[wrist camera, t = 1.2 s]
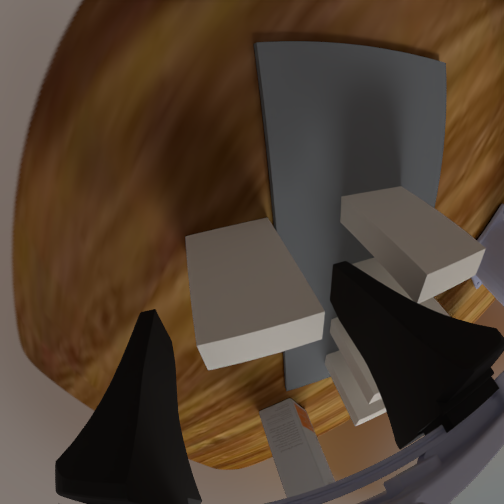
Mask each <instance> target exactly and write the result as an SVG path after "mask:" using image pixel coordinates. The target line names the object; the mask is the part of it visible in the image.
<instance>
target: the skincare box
mask: <svg viewBox="0 0 504 504" xmlns="http://www.w3.org/2000/svg"><path fill="white" fill-rule="evenodd" d="M259 414H260V418H261V421H262V424H263V427H264V430H265V433H266V436H267V440H268V443H269V446H270V449H271V452H272V455H273V458H274V461H275V464H276V467H277V470H278V473H279V476H280V479H281V482H282V485H283V488H284V490H285V494H286V496H287V498H289V497H292V496H296V495H299V494H302V493H305V492H308V491H311V490H314V489H317V488H320V487H323V486H326V485H328V484H331V483H334V482H335V480H334V478H333V475H332V473H331V470H330V468H329V466H328V463H327V461H326V458H325V456H324V453H323V451H322V449H321V446H320V444H319V442H318V439H317V436H316V434H315V432H314V429H313V427H312V424H311V422H310V419H309V417H308V414H307V412H306V410H305V409H303V408H302V407H301V406H299V405H298V404H297V403H296V402H295V401H294V400H292V399H291V398H288V399H286V400H284V401H282V402H280V403H277V404H275V405H273V406H270V407H268V408H265V409H263V410H261V411H259Z"/></svg>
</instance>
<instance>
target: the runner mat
mask: <svg viewBox="0 0 504 504" xmlns="http://www.w3.org/2000/svg"><path fill="white" fill-rule="evenodd" d="M254 51H255V58H256V66H257V74H258V82H259V90H260V98H261V106H262V115H263V124H264V133H265V142H266V151H267V160H268V170H269V180H270V190H271V201H272V211H273V222H274V228H275V230H276V232H277V233H278V235H279V236H280V238H281V240H282V241H283V243H284V244H285V246H286V248H287V249H288V251H289V253H290V254H291V256H292V257H293V259H294V261H295V262H296V264H297V266H298V267H299V269H300V270H301V272H302V274H303V275H304V277H305V279H306V280H307V282H308V284H309V285H310V287H311V289H312V290H313V292H314V294H315V295H316V297H317V299H318V300H319V302H320V304H321V306H322V307H323V309H324V311H325V316H324V326H323V335H322V339H321V340H318V341H315V342H312V343H309V344H305V345H302V346H299V347H296V348H292V349H289V350H286V351H283V356H284V373H285V388H286V391H289V390H292V389H295V388H299V387H302V386H305V385H308V384H311V383H314V382H317V381H319V380H322V379H325V378H328V377H331V376H330V374H329V372H328V370H327V368H326V365H325V360H326V355H328V354H330V353H333V352H336V351H339V348H338V346H337V344H336V343H335V341H334V339H333V337H332V335H331V334H330V326H331V319H334V318H337V315H336V313H335V310H334V308H333V306H332V304H331V302H330V292H331V281H332V269H333V264H336V263H339V262H343V261H347V262H349V263H351V264H354V263H357V262H361V261H364V260H367V259H371V258H374V256H373V255H372V254H371V253H370V252H369V251H368V250H367V249H366V248H365V247H364V246H363V245H362V244H361V243H360V242H359V241H358V240H357V238H356V237H355V236H354V235H353V234H352V233H351V232H350V231H349V230H348V229H347V228H346V227H345V226H344V225H343V224H342V223H341V222H340V218H341V197H342V196H347V195H353V194H358V193H364V192H370V191H376V190H381V189H387V188H393V187H399V186H402V187H403V188H405V189H406V190H408V191H409V192H411V193H413V194H414V195H416V196H417V197H419V198H420V199H422V200H423V201H425V202H426V203H427V204H429V205H430V206H432V207H433V208H434V207H435V202H436V196H437V191H438V185H439V178H440V171H441V164H442V156H443V146H444V135H445V120H446V63H444V62H440V61H437V60H433V59H429V58H426V57H422V56H418V55H413V54H409V53H404V52H399V51H394V50H389V49H383V48H376V47H370V46H362V45H353V44H343V43H330V42H309V41H279V42H257V43H255V44H254Z"/></svg>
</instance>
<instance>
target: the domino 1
mask: <svg viewBox="0 0 504 504" xmlns="http://www.w3.org/2000/svg"><path fill="white" fill-rule="evenodd" d="M185 241H186V253H187V265H188V276H189V286H190V295H191V304H192V313H193V321H194V329H195V337H196V344H197V347H198V350H199V352H200V354H201V356H202V358H203V360H204V363H205V365H206V367H207V369H208V370H212V369H217V368H221V367H225V366H230V365H234V364H238V363H242V362H246V361H250V360H254V359H257V358H261V357H265V356H268V355H272V354H275V353H279V352H282V351H286V350H289V349H292V348H296V347H299V346H302V345H305V344H309V343H312V342H315V341H318V340H321V339H322V335H323V326H324V316H325V311H324V309H323V307H322V306H321V304H320V302H319V300H318V299H317V297H316V295H315V294H314V292H313V290H312V289H311V287H310V285H309V284H308V282H307V280H306V279H305V277H304V275H303V274H302V272H301V270H300V269H299V267H298V266H297V264H296V262H295V261H294V259H293V257H292V256H291V254H290V253H289V251H288V249H287V248H286V246H285V244H284V243H283V241H282V240H281V238H280V236H279V235H278V233H277V232H276V230H275V228H274V227H273V225H272V224H271V222H270V220H269V219H268V217H267V218H263V219H258V220H254V221H249V222H245V223H240V224H236V225H232V226H227V227H223V228H219V229H214V230H210V231H206V232H202V233H197V234H193V235H189V236H185Z"/></svg>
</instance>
